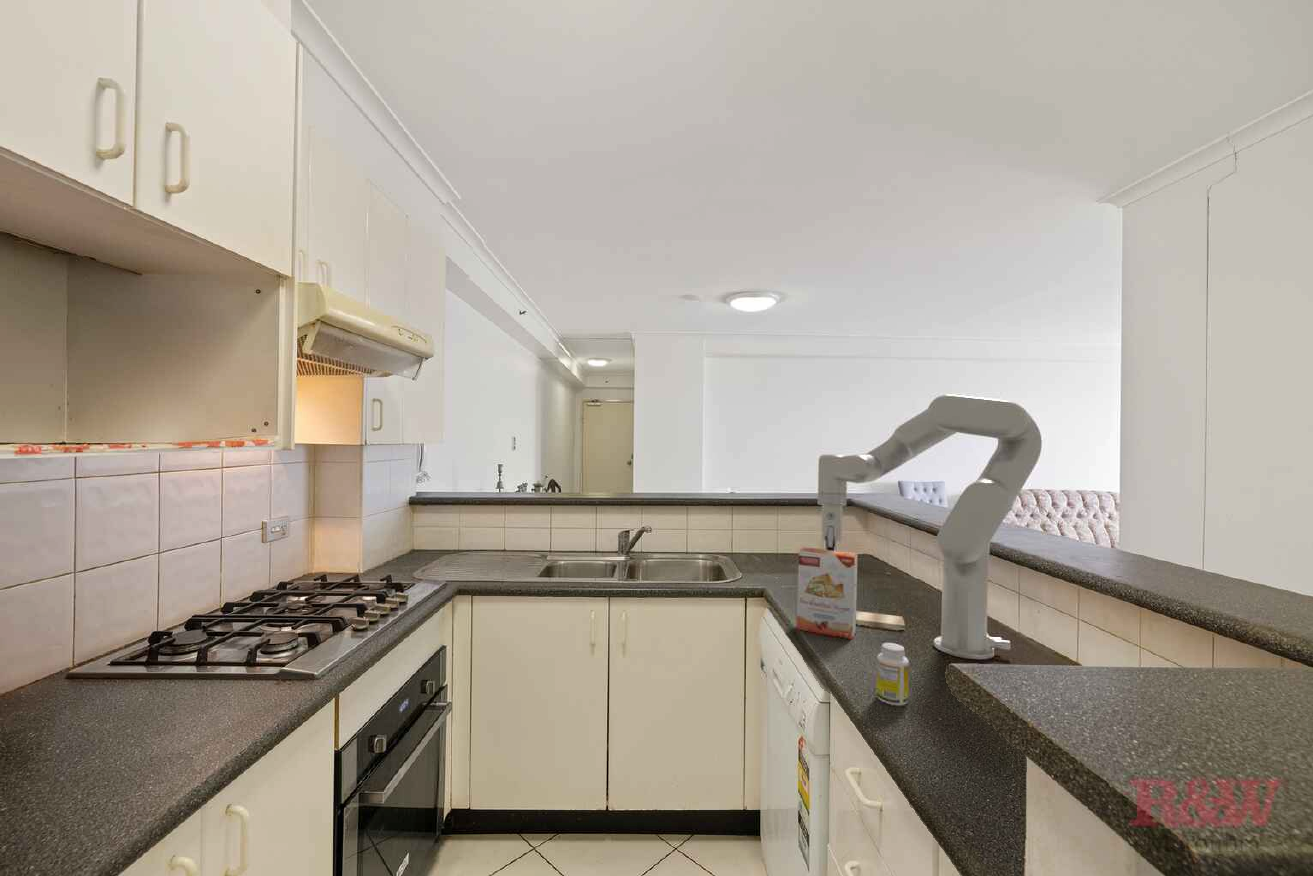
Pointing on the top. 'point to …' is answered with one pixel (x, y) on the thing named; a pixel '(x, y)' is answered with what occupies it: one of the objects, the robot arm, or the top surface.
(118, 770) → the top surface
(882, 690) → the supplement bottle
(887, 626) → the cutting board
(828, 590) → the cracker box
